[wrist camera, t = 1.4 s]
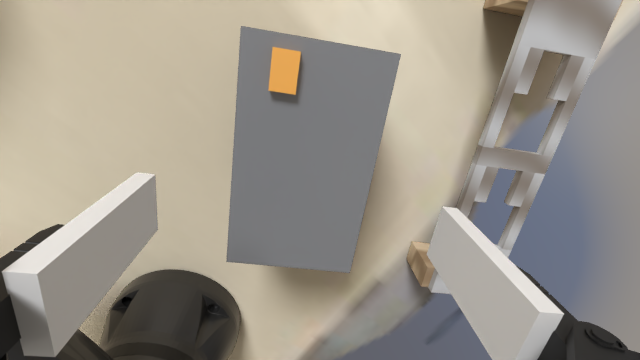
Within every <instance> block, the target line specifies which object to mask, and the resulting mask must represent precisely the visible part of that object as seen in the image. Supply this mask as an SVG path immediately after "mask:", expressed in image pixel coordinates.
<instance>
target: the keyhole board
mask: <svg viewBox="0 0 640 360" xmlns="http://www.w3.org/2000/svg"><path fill="white" fill-rule="evenodd" d="M622 1H623V0H485V4H484V7H483V9H488V10H493V11H498V12H502V13H507V14H512V15H517V16H522V20H521V23H520V26H519V29H518V31H517V34H516V37H515V40H514V43H513V46H512V49H511V51H510V54H509V57H508V60H507V63H506V66H505V69H504V71H503V74H502V77H501V80H500V83H499V86H498V89H497V92H496V94H495V97H494V100H493V103H492V106H491V109H490V112H489V114H488V117H487V120H486V123H485V126H484V129H483V132H482V134H481V137H480V140H479V143H478V146H477V149H476V152H475V155H474V157H473V160H472V163H471V166H470V169H469V172H468V175H467V177H466V180H465V183H464V186H463V189H462V192H461V195H460V197H459V200H458V203H457V206H456V208H458V209H459V210H460V211H461V212H462V213H463V214H464V215H465V216H466V217H467V218H468V216H469V213H470V210H471V208H472V205H473V202H474V201H477V202H486V201H487V198H488V195H489V193H490V190H491V187H492V185H493V182H494V180H495V177H496V174H497V172H498V169H499V168H504V169H511V170H517V171H516V173H515V176H514V179H513V181H512V183H511V186H510V188H509V191H508V193H507V196H506V198H505V200H504V202H505V203H506V204H508V205H509V206H514V208H513V210H512V212H511V214H510V217H509V219H508V222H507V224H506V226H505V229H504V231H503V233H502V236H501V238H500V240H499V243H498V245H496V244H494V245H495V246H496V247H497V248H498V249H499V250H500V251H501V252H502V253H503V254H504V255H505V256H506V257H507V258H508V256H509V254H510V252H511V250H512V247H513V245H514V243H515V241H516V238H517V236H518V234H519V232H520V229H521V227H522V225H523V223H524V220H525V218H526V216H527V213H528V211H529V209H530V207H531V205H532V202H533V200H534V198H535V196H536V193H537V191H538V189H539V186H540V184H541V182H542V180H543V178H544V175H545V173H546V171H547V169H548V166H549V164H550V162H551V160H552V157H553V155H554V153H555V151H556V148H557V146H558V144H559V142H560V139H561V137H562V135H563V132H564V130H565V128H566V126H567V124H568V121H569V119H570V117H571V115H572V112H573V110H574V108H575V106H576V103H577V101H578V99H579V97H580V94H581V92H582V90H583V87H584V85H585V83H586V81H587V78H588V76H589V74H590V72H591V69H592V67H593V65H594V63H595V60H596V58H597V56H598V54H599V51H600V49H601V47H602V45H603V42H604V40H605V38H606V36H607V33H608V31H609V29H610V27H611V24H612V22H613V20H614V19H615V17H616V15H617V13H618V10H619V8H620V6H621V4H622ZM544 51H546V52H552V53H557V54H562V55H564V56H563V58H562V61H561V63H560V65H559V68H558V70H557V73H556V75H555V78H554V80H553V83H552V85H551V88H550V90H549V92H548V95H547V97H546V98H550V99H555V100H559V101H558V103H557V105H556V108H555V110H554V112H553V115H552V117H551V120H550V122H549V124H548V127H547V129H546V131H545V134H544V136H543V139H542V141H541V143H540V146H539V148H538V151H537V153H534V152H528V151H521V150H515V149H508V148H501V147H494V145H495V143H496V140H497V137H498V134H499V132H500V129H501V126H502V124H503V121H504V118H505V115H506V113H507V110H508V107H509V105H510V102H511V99H512V96H513V94H514V93H520V94H526V95H527V94H528V91H529V89H530V86H531V84H532V81H533V78H534V76H535V73H536V71H537V68H538V65H539V63H540V60H541V58H542V55H543V52H544ZM429 246H430V243H423V242H413V241H412V242H411V246H410V249H409V252H408V255H407V261H408V263H409V264H410V266H411V268H412V270H413V272H414V274H415V276H416V278H417V280H418V282H419V283H420V285H421V287H428V288H429V290H430V291H431V292H433V293H444V294H451V293H450V291H449V290H448V288H447V286H446V285H445V283H444V282H443V280H442V278H441V277H440V275H439V274H438V272H437V270H436V269H435V267H434V266H433V264H432V262H431V261H430V259H429V258H428V256H427V252H428V249H429Z"/></svg>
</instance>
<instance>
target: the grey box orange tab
mask: <svg viewBox="0 0 640 360" xmlns="http://www.w3.org/2000/svg"><path fill="white" fill-rule="evenodd" d="M400 56H401V54H397V53H392V52H386V51H380V50H375V49H369V48H363V47H358V46H352V45H346V44H341V43H335V42H329V41H324V40H318V39H312V38H307V37H301V36H295V35H290V34H284V33H278V32H273V31H267V30H261V29H256V28H250V27H244V26H241V34H240V50H239V66H238V83H237V99H236V115H235V132H234V148H233V164H232V181H231V197H230V214H229V230H228V246H227V262H235V263H246V264H257V265H268V266H279V267H290V268H301V269H312V270H323V271H334V272H345V273H350V270H351V266H352V262H353V257H354V253H355V249H356V244H357V240H358V236H359V232H360V227H361V223H362V219H363V214H364V210H365V206H366V202H367V197H368V193H369V189H370V184H371V180H372V176H373V172H374V167H375V163H376V159H377V154H378V150H379V146H380V142H381V137H382V133H383V129H384V125H385V120H386V116H387V112H388V107H389V103H390V99H391V95H392V90H393V86H394V82H395V77H396V73H397V69H398V65H399V60H400Z"/></svg>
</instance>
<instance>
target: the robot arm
mask: <svg viewBox="0 0 640 360" xmlns="http://www.w3.org/2000/svg"><path fill="white" fill-rule="evenodd" d="M157 230H158V224H157V202H156V180H155V174H147V173H138V172H136V173H135V174H134V175H132V176H131V177H130V178H128V179H127V180H126V181H124V182H123V183H121V184H120V185H119V186H117V187H116V188H115V189H113V190H112V191H111V192H109V193H108V194H106V195H105V196H104V197H102V198H101V199H100V200H98V201H97V202H96V203H94V204H93V205H91V206H90V207H89V208H87V209H86V210H85V211H83V212H82V213H81V214H79V215H78V216H76V217H75V218H74V219H72V220H71V221H70V222H68V223H67V224H66V225H60V224H57V225H55V226H52V227H50V228H47V229H45V230H42V231H40V232H38V233H37V234H35V235H34V236H32V237H31V238H29V239H28V240H27V241H26V242H25V243H22V244H21V245H19V246H18V247H16V248H15V249H14V251H11V252H9V253H8V254H6V255H5V256H3V257H2V258H0V360H227V359H228V358H229V356H230V354H231V353H232V351H233V349H234V347H235V344H236V342H237V337H238V333H239V328H240V313H239V309H238V306H237V304H236V302H235V300H234V299H233V297H232V296H231V295H230V294H229V293H228V291H227V290H226V289H224V288H223V287H222V286H221V285H220V284H218V283H217V282H215V281H213V280H212V279H210V278H208V277H205V276H203V275H200V274H197V273H194V272H190V271H184V270H160V271H155V272H151V273H148V274H145V275H142V276H140V277H138V278H137V279H135V280H133V281H132V282H131V283H129V284H128V285H127V286H126V287H125V288H124V289H123V291H122V292H121V293H120V295H119V296H118V297H117V299H116V300H115V302H114V303H113V305H112V306H111V308H110V310H109V313H108V315H107V319H106V323H105V326H104V330H103V334H102V338H101V341H100V345H99V346H98V345H97V344H95V343H94V342H93V341H92V340H91V339H90V338H88V337H87V336H86V335H85V334H84V333H82V332H81V331H80V330H79V329H78V328H79V327H80V326H81V324H82V323H83V322H84V321H85V319H86V318H87V317H88V316H89V314H90V313H91V312H92V311H93V309H94V308H95V307H96V306H97V304H98V303H99V302H100V301H101V299H102V298H103V297H104V296H105V295H106V293H107V292H108V291H109V290H110V288H111V287H112V286H113V285H114V283H115V282H116V281H117V280H118V278H119V277H120V276H121V275H122V273H123V272H124V271H125V270H126V268H127V267H128V266H129V265H130V263H131V262H132V261H133V260H134V258H135V257H136V256H137V255H138V253H139V252H140V251H141V250H142V248H143V247H144V246H145V245H146V244H147V242H148V241H149V240H150V239H151V237H152V236H153V235H154V234H155V232H156V231H157ZM427 256H428V258H429V259H430V261H431V262H432V264H433V266H434V267H435V269H436V270H437V272H438V274H439V275H440V277H441V278H442V280H443V282H444V283H445V285H446V286H447V288H448V290H449V291H450V293H451V294H452V296H453V298H454V299H455V301H456V302H457V304H458V306H459V307H460V309H461V310H462V312H463V314H464V315H465V317H466V318H467V320H468V321H469V323H470V325H471V326H472V328H473V329H474V331H475V333H476V334H477V336H478V337H479V339H480V340H481V342H482V344H483V345H484V347H485V348H486V350H487V352H488V353H489V355H490V357H491V358H492V360H640V353H637V352H634V351H631V350H628V349H627V347H626V346H625V345H624V344H623V343H622V342H621V341H620V340H619V339H618V338H617V337H616V336H614V335H613V334H611V333H610V332H608V331H606V330H605V329H603V328H601V327H599V326H596V325H594V324H591V323H588V322H582V321H577V319H575V318H574V317H573V316H572V315H571V314H570V313H569V312H568V311H567V310H566V309H565V308H564V307H563V306H562V305H561V304H560V303H559V302H558V301H557V300H556V299H555V298H554V297H553V296H552V295H549V294H548V292H547V291H546V290H545V289H544V288H543V287H542V286H540V284H539V283H538V282H537V281H536V280H535V279H534V278H533V277H532V276H531V275H530V274H528V273H527V272H525V271H524V270H522V269H521V268H519V267H518V266H515V265H514V264H513V263H512V262H511V261H510V260H509V259H508V258H507V257H506V256H505V255H504V254H503V253H502V252H501V251H500V250H499V249H498V248H497V247H496V246H495V245H494V244H493V243H492V242H491V241H490V240H489V239H488V238H487V237H486V236H485V235H484V234H483V233H482V232H481V231H480V230H479V229H478V228H477V227H476V226H475V225H474V224H473V223H472V222H471V221H470V220H469V219H468V218H467V217H466V216H465V215H464V214H463V213H462V212H461V211H460V210H459V209H458V208H451V207H442V208H441V212H440V215H439V218H438V221H437V224H436V227H435V230H434V233H433V236H432V239H431V243H430V246H429V249H428V252H427Z"/></svg>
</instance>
